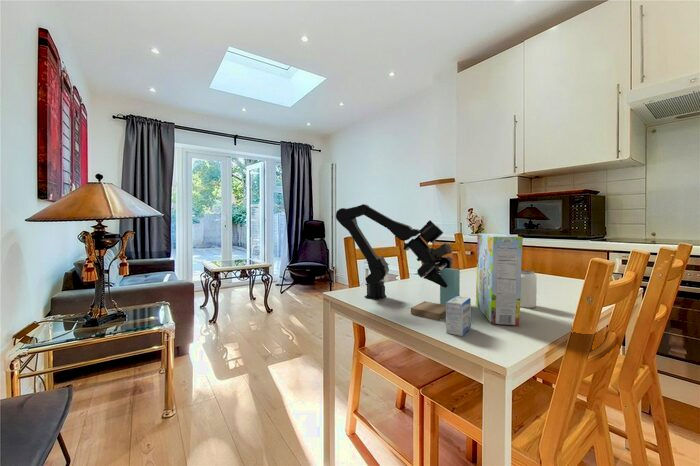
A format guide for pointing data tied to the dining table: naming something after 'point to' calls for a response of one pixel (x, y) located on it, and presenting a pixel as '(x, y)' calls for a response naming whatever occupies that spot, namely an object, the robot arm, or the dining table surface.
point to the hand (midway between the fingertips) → (451, 284)
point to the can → (528, 289)
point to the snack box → (499, 277)
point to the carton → (450, 284)
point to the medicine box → (458, 315)
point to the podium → (429, 310)
